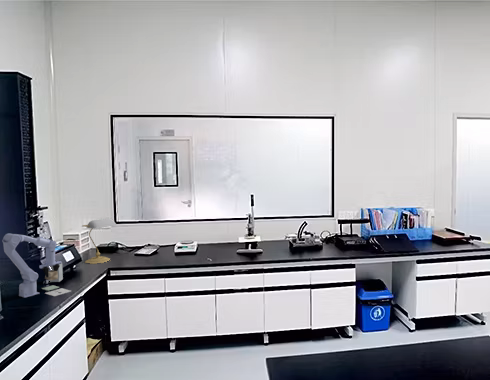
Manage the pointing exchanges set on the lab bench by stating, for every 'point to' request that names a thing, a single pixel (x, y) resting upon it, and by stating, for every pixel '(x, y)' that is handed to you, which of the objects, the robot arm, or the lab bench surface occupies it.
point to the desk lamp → (92, 224)
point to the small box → (60, 274)
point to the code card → (58, 292)
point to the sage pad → (50, 287)
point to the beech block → (52, 275)
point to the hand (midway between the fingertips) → (51, 276)
